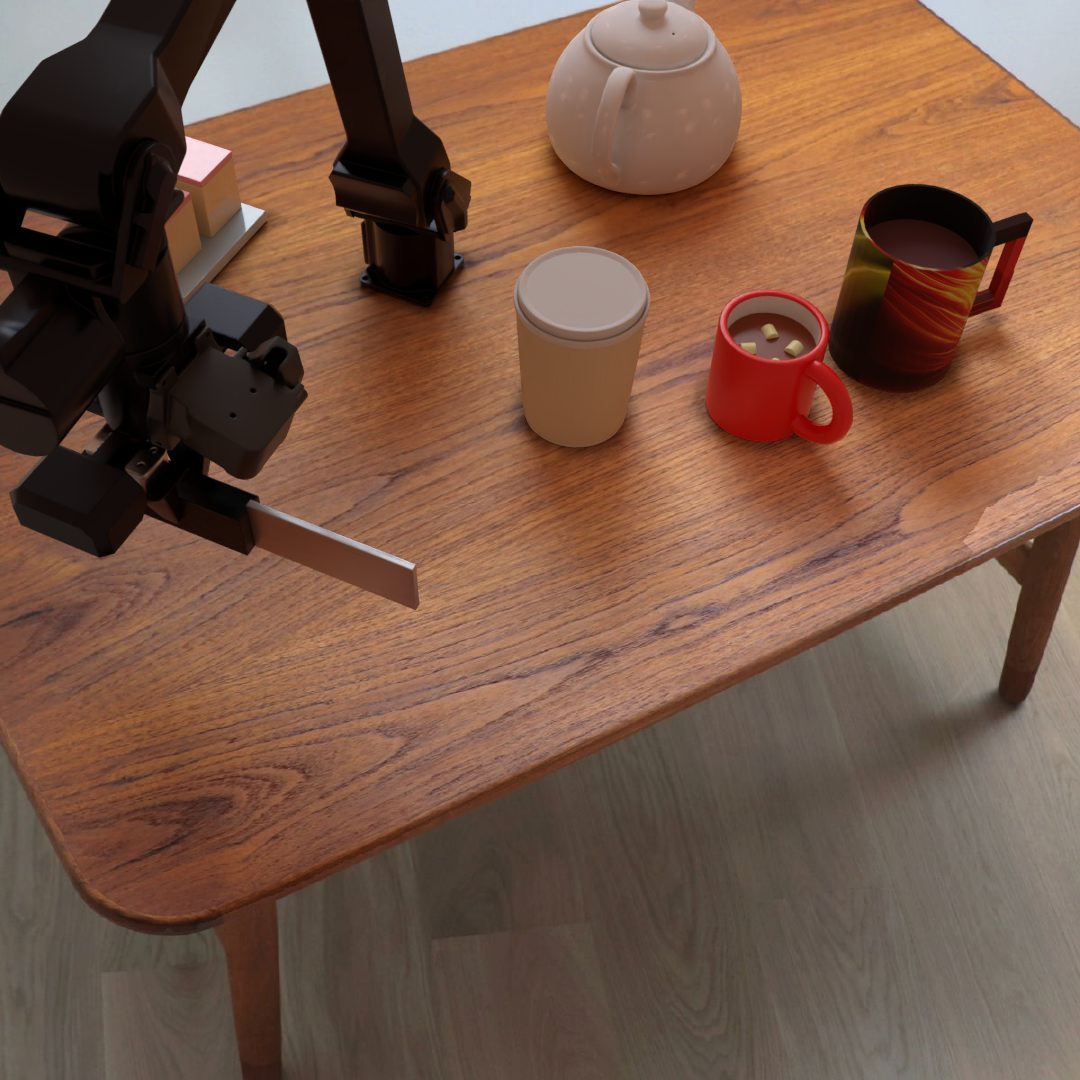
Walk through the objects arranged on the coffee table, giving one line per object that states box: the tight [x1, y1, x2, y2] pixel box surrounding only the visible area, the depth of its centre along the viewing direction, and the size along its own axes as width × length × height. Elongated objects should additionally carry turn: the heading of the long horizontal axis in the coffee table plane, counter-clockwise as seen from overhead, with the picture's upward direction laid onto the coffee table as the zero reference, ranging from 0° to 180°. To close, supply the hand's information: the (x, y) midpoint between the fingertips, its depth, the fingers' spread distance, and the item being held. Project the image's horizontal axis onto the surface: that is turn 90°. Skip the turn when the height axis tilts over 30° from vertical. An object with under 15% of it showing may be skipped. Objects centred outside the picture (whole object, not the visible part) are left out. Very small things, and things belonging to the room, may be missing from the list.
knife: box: [144, 469, 420, 611], centre depth 81 cm, size 21×2×4 cm, turn 65°
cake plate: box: [175, 135, 268, 302], centre depth 110 cm, size 12×12×7 cm
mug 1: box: [704, 289, 854, 446], centre depth 99 cm, size 8×12×8 cm, turn 43°
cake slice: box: [165, 188, 202, 275], centre depth 108 cm, size 8×4×6 cm, turn 65°
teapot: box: [545, 0, 743, 196], centre depth 116 cm, size 19×18×14 cm
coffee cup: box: [513, 245, 651, 448], centre depth 97 cm, size 9×9×12 cm
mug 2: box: [827, 183, 1034, 393], centre depth 103 cm, size 10×14×12 cm
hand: (184, 505), depth 83 cm, fingers closed on knife, 2 cm apart
